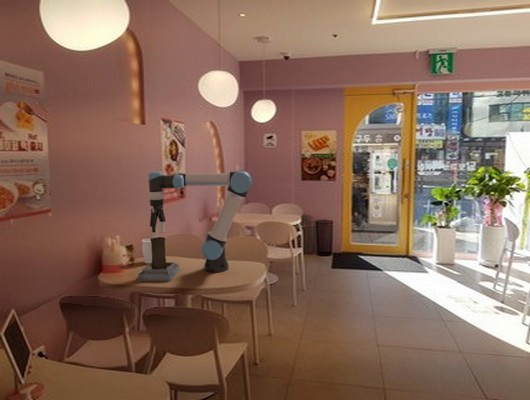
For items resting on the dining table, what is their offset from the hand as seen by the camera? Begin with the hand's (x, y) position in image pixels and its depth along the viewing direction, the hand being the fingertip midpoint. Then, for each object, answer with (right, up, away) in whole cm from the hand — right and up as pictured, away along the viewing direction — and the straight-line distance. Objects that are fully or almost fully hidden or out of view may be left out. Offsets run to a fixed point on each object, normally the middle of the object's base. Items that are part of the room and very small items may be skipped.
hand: (158, 235), depth 237 cm
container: (0, -20, +3) cm, 20 cm away
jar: (-13, -21, +33) cm, 41 cm away
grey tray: (0, -24, +3) cm, 24 cm away
